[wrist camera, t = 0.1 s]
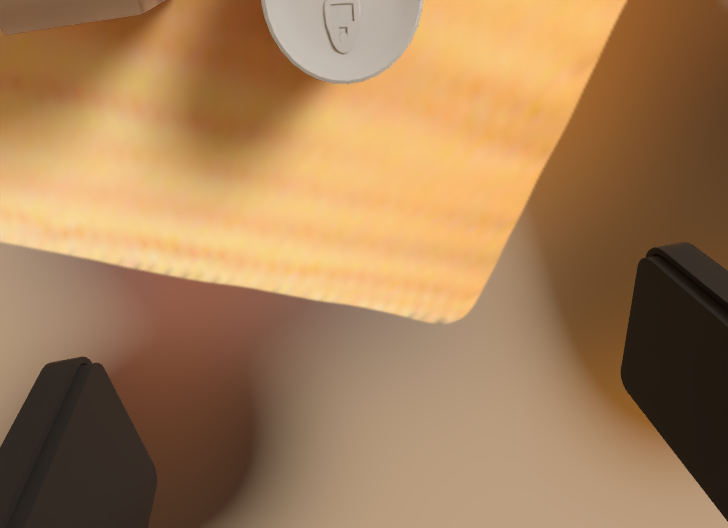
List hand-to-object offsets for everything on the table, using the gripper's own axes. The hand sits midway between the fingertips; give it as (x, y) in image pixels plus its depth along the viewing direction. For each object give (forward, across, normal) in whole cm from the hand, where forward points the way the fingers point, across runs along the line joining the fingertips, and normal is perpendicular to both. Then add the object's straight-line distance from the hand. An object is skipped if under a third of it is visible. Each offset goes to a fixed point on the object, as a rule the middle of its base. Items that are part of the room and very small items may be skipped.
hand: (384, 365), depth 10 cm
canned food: (+31, -2, -4) cm, 32 cm away
